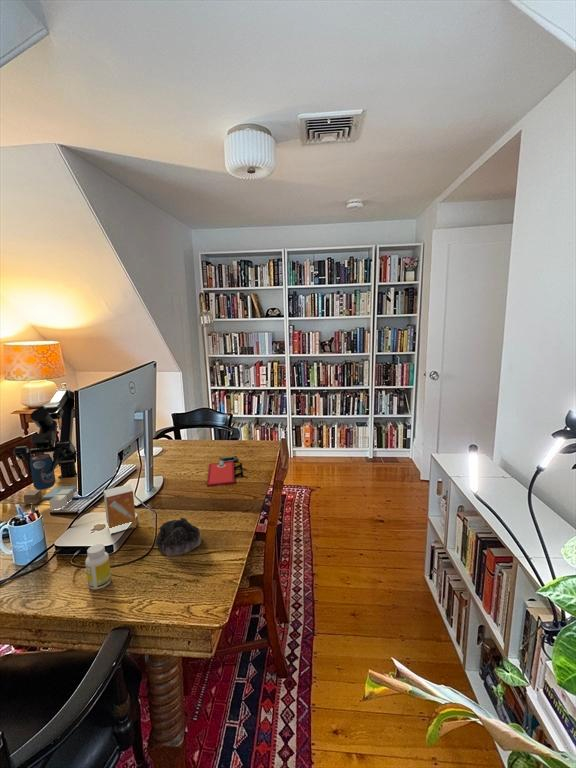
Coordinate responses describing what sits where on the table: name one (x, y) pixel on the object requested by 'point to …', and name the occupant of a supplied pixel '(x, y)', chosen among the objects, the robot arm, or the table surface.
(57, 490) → the slate tile
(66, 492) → the grey block
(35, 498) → the walnut block
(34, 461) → the soda can
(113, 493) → the small box
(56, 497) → the off-white block
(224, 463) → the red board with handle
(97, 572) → the supplement bottle
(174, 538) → the crystal cluster
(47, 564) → the table surface
